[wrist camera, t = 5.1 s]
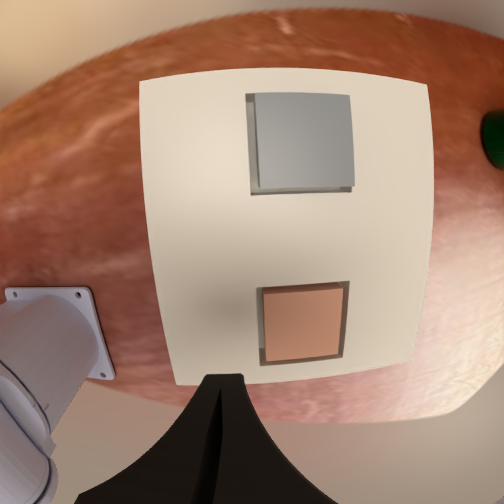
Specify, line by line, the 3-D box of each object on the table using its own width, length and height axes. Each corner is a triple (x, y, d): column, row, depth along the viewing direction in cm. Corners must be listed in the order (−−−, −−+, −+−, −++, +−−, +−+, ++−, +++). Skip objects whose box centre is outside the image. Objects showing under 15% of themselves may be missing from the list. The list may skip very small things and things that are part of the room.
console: (183, 359, 20) (176, 385, 17) (155, 94, 16) (139, 81, 13) (394, 340, 21) (411, 360, 18) (403, 94, 16) (426, 84, 13)
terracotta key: (264, 343, 19) (266, 361, 17) (261, 281, 18) (263, 294, 16) (329, 337, 19) (337, 354, 17) (333, 276, 18) (343, 288, 16)
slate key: (257, 186, 15) (260, 188, 13) (253, 102, 14) (254, 92, 12) (341, 184, 15) (355, 186, 13) (336, 103, 14) (349, 95, 12)
